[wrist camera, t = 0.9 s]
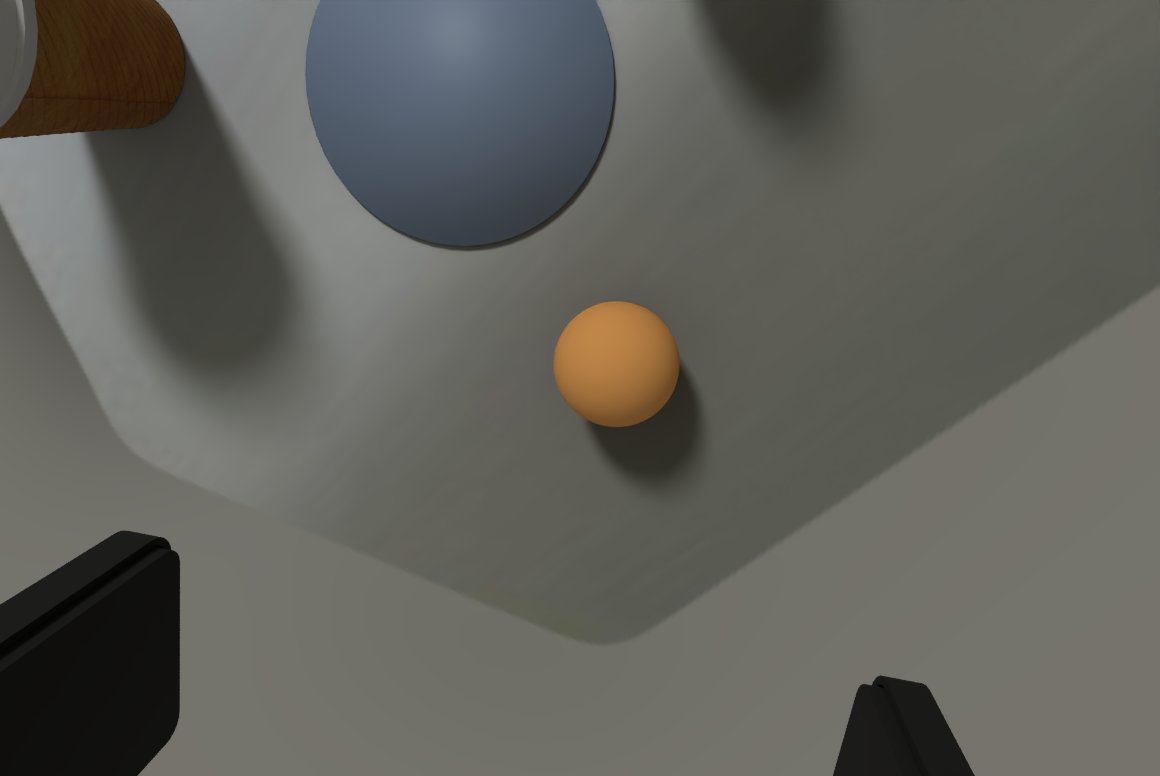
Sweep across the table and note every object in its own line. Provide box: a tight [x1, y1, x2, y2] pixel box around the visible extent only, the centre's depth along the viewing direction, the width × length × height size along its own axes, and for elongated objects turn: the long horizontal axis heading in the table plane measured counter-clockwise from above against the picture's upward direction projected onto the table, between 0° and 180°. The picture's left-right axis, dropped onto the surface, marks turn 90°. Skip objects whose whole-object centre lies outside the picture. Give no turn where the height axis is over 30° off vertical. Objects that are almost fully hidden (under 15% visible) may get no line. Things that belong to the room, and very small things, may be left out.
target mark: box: [306, 0, 614, 246], centre depth 33 cm, size 14×14×1 cm
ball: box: [554, 301, 680, 427], centre depth 33 cm, size 6×6×6 cm
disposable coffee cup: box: [0, 0, 185, 139], centre depth 29 cm, size 10×10×12 cm
